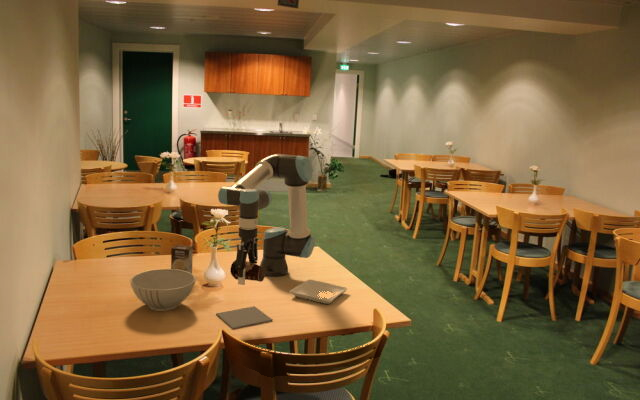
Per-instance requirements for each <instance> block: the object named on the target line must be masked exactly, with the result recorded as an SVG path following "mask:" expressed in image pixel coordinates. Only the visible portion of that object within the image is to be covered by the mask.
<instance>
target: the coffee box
mask: <svg viewBox="0 0 640 400" xmlns="http://www.w3.org/2000/svg"><path fill="white" fill-rule="evenodd" d="M170 251H171V253H170V255H171V257H170V258H171V259H170V261H171V263H170V269H177V270H183V271H186V272H189V273H191V274H193V257H194V256H193V252H194V247H193V246H192V245H182V244H181V245H180V244H174V246H172V247H171V250H170Z"/></svg>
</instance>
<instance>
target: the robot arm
mask: <svg viewBox="0 0 640 400" xmlns="http://www.w3.org/2000/svg"><path fill="white" fill-rule="evenodd" d="M313 171H314V170H313V163H312V161H311V159H310V158H309V157H307V156H303V155H293V154H284V153H275V154H271V155H268V156H267V157H266V156H265V157H264V158H262V159H260V160H259V161H258V162H257V163H255V165H254V167H253V168H252V169H251V170H250V171H249V172H247V173H246V174H245V175H244V176H243V177H241V178H240V179H239V180H238V181H236V182H235V183H234V184H232V185H231V186H221V187H220V188H219V190H218V192H217V198H218V202H219V203H220V204H222V205H227V206H234V207H239V217H238V218H239V219H238V227H239V228H238V237H239V238H240V239H241V241H240V244H236V256H235V257H236V258H235V260H236V266H235V268H236V269H238V280H237V284H238V285H242V286H245V285H246V280H245V269H244V267H245V262H246V261H247V257H248V262H251V263H254V264H257V265H258V258H259V257H258V254H259V253H258V243H259V242H258V241H259V239H258V238H257V237H258V225H259V220H258V219H259V211H260V210H263V209H266V208H267V207H269V206H270V205H271V204H272V202H273V196H272V194H271V192H269V190H266V189H260V190H258V189H256V188H258V187H259V186H260V185H262V184H263V183H264V182H265V181H267V180H268V181H269V180H270V179H273V178H277V179H284V185H285V186H286V187H287V192H288V194H287V195H288V211H289V228H290V229H288V230H287V228H286V227H272V228H268V229H266V230H265V231H263V242H262V243H263V246H262V258H261V261H260V265H259V266H264V267H265V269H266V274H265V277H283V276H286V275H288V274H289V267H288V263H287V260H286V256H291V257H297V258H302V259H303V258H304V259H308V258H310V257H311V256H312V253H313V251H314V248H315V243H316V238H315V236H314V235H312V234H311V230H310V228H308V210H307V189H306V188H307V187H306V186H307V185H308V184H309V182H310V181H311V180H312V178H313Z"/></svg>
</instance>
